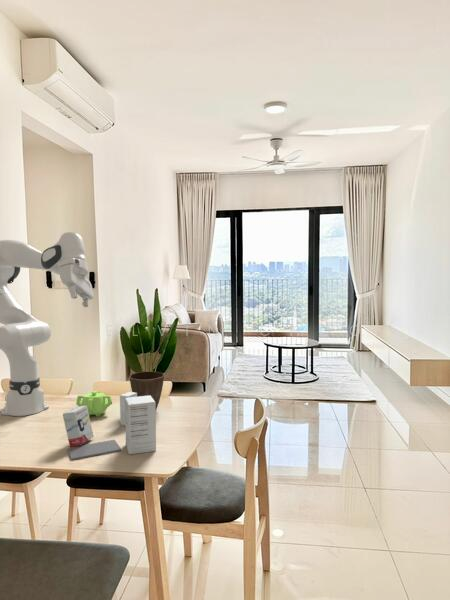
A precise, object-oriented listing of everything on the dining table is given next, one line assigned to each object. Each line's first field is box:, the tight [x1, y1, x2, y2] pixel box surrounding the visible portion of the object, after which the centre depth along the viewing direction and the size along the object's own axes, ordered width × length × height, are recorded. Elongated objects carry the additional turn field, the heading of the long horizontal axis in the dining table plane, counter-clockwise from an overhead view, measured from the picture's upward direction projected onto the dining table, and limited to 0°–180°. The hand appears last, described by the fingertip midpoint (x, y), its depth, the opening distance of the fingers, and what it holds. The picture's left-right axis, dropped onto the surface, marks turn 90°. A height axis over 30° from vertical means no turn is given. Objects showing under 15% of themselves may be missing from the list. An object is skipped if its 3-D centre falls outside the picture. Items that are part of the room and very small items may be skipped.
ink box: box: [62, 406, 95, 448], centre depth 148 cm, size 9×5×12 cm, turn 168°
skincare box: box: [119, 391, 137, 426], centre depth 168 cm, size 6×4×12 cm
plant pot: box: [128, 371, 165, 410], centre depth 183 cm, size 15×15×16 cm
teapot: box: [75, 390, 113, 418], centre depth 179 cm, size 12×12×10 cm
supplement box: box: [124, 396, 157, 455], centre depth 144 cm, size 10×9×17 cm
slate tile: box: [66, 439, 122, 461], centre depth 142 cm, size 10×16×1 cm, turn 118°
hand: (80, 302), depth 156 cm, fingers open, 8 cm apart
